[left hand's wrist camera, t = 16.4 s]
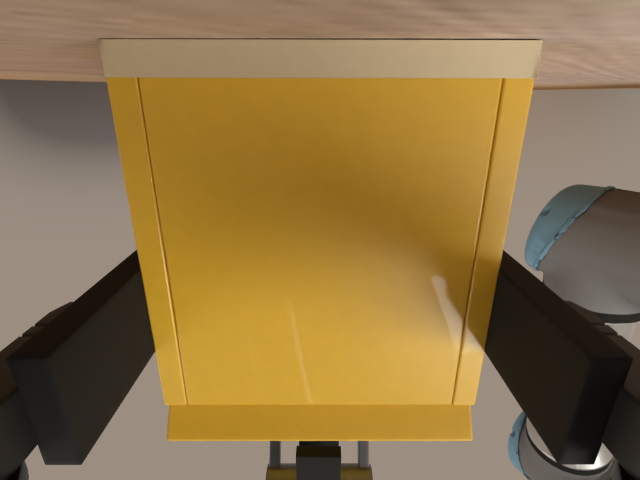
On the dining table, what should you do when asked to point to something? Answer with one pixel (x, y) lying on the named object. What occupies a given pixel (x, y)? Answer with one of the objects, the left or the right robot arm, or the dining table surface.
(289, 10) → the dining table surface
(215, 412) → the lid
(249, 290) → the chest
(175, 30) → the dining table surface
